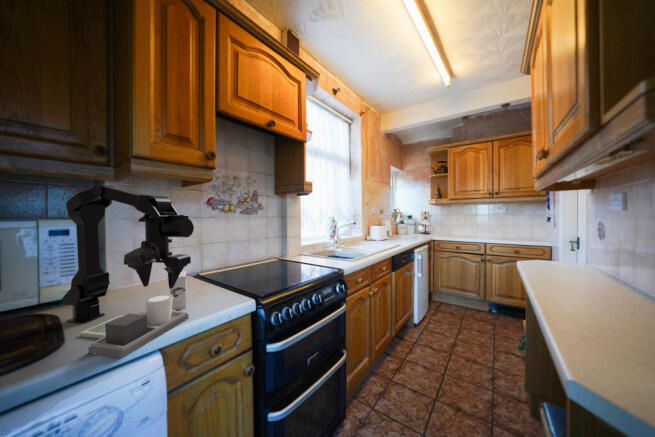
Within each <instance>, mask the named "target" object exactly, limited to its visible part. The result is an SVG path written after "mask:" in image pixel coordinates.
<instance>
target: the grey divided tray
mask: <svg viewBox="0 0 655 437" xmlns="http://www.w3.org/2000/svg"><path fill="white" fill-rule="evenodd" d="M186 319H187V320H188V319H189V313H188V312H187V311H179V310H178V311H177V310H172V313H171V319H170V320H169V321H168V322H165V323H162V324H158V325H150V324H149V322H148V315H146V314H136V313H126V314H125V315H124V316H122V317H120V318H118V319H115V320H113V321H111V322H108V323H106V324H105V331H104V332H105V333H106V336H105V337H103V338H101V339H100V338H98V339H97V340H95V341H93V342H90V343H89V344H90V346H89V347H87V349H88V350H87V351H88V352H87V354H88V353H96V354H99V355H98V356H103V357H108V358H109V357H110V358H115V359H116V358H117V359H123V358H125V357H126V356H127V355H130V354H132V353H133V352H135V351H136V350H138V349H140V348H142V347H143V346H145V345H146V344H148V343H149V342H152V341H154V340H155V339H157V338H158V337H160V336H162V335H163V334H165V333H166V332H168V331H170V330H172V329H174V328H175V327H177V326H178V325H180V324H182V323H183V322H185V321H187V320H186Z"/></svg>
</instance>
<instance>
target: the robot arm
mask: <svg viewBox="0 0 655 437" xmlns="http://www.w3.org/2000/svg"><path fill="white" fill-rule="evenodd" d="M113 201H114V202H116V203H120V204H123V205H124V204H125V205H127V206H128V205H129V206H131V207H133V208H135V209H136V211H138V212H140V213H142V214H143V215H142V216H141V217H140V218H139V219H138V223H144V224H145V225H144V229H145V233H144V234H145V240H142V241H141V243H140V247H138V248H135V249H134V250H133V249H132V251H129V252H127V253H126V254H124V255H123V257H124V258H123V266H124V265H127V267H128V268H131V269H133V270H134V271H135V272H136V274H137V275H138V277H139V279H140V281H141V283H142V286H143V287H148V286H149V284H150V280H151V274H152V268H153V263H157V264H159V263H160V264H164V266H165V267H163V270H165V271H166V272H167V280H168V289H169V290H170V289H171V288H173V287H174V285H175V283H176V281H177V279H178V277H179V275H180V273H181V272H182V271H184V269H185V267H187V266H188V265H190V264H191V263H192V261H191V260H192V259H191V256H190V255H189V254H185V253H184V254H181V253H179V254H174V255H173V252H172V251H170V248H169V247H170V244H169V243H173V239H172V238H189V237H191V236H192V235H193V233H194V230H195V227H194V226H195V225H194V223H193V222H192V220H191V219H190V218H189V215H188V214H180V213H179V212H178V211H177V209H176V208H175V207H174V206H175V205H173V203H172V201H171V198H169V197H168V196H165V195H154V194H153V195H151V194H150V195H149V194H143V193H139V192H135V191H130V190H127V189H123V188H120V187H116V186H114V185H109V184H95V185H94V186H92V187H91V188H89V189H86V190H84V191H81V192H78V193H75V195H73V196H72V197H70V198H69V199H68V200H67V201H66V204H65V206H66V210H67V213H68V214H67V215H68V218H69V219H70V220H72V222H74V224H75V226H76V242H77V243H76V246H77V265H78V266H77V267H78V269H77V272H76V273H75V274H74V276H73V277H72V279H71V281H70V289H69V290H68V291H66V293H65V295H64V296H62V298H61V300H62V303H63V305H64V306H72V318H70V319H67V320H66V322H67V323H74V324H79V325H82V324H86V323H87V322H90V321H93V320H96V319H98V318H101V317H103V316H105V314H106V313H104V312H100V311H101V307H100V305H101V304H100V299H99V298H101V297H105V296H106V295H107V291H108V289H109V285H110V284H111V282H110V273H109V272H108V271H106V272H105V270H103V269H102V267H101V256H100V255H101V250H100V232H99V231H100V230H99V228H100V227H99V226H100V225H99V224H100V223H101V221H102V220H103V218H104V217H105V213H106V209H107V208H109V207H110V206H111V205H112V203H113Z"/></svg>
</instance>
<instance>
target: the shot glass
mask: <svg viewBox="0 0 655 437" xmlns="http://www.w3.org/2000/svg"><path fill="white" fill-rule="evenodd" d="M172 301H173V296H172V295H170V294H158V295H155V296H152V297H149V298H147V299H146V300H145V308H146V314H147V316H148V322H149V324H150V325H158V324H162V323H165V322H168V321H169V320H170V319H171V313H172Z"/></svg>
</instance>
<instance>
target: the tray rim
mask: <svg viewBox="0 0 655 437" xmlns="http://www.w3.org/2000/svg"><path fill="white" fill-rule="evenodd" d="M122 316H125V315H124V314H121V315H118V316H115V317H112V318H110V319H109V320H106V321H104V322H102V323H99V324H96V325H94V326H91V327H89V328H86V329H85V330H82V331H80V332H79V336H80V337H86V338H95V339H100V338H103V337H105V336H106V332H100V331H99V332H97V331H98V330H100V329H102V328H104V327H105V324H106V323H108V322H111V321H113V320H115V319H118V318H120V317H122Z"/></svg>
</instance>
